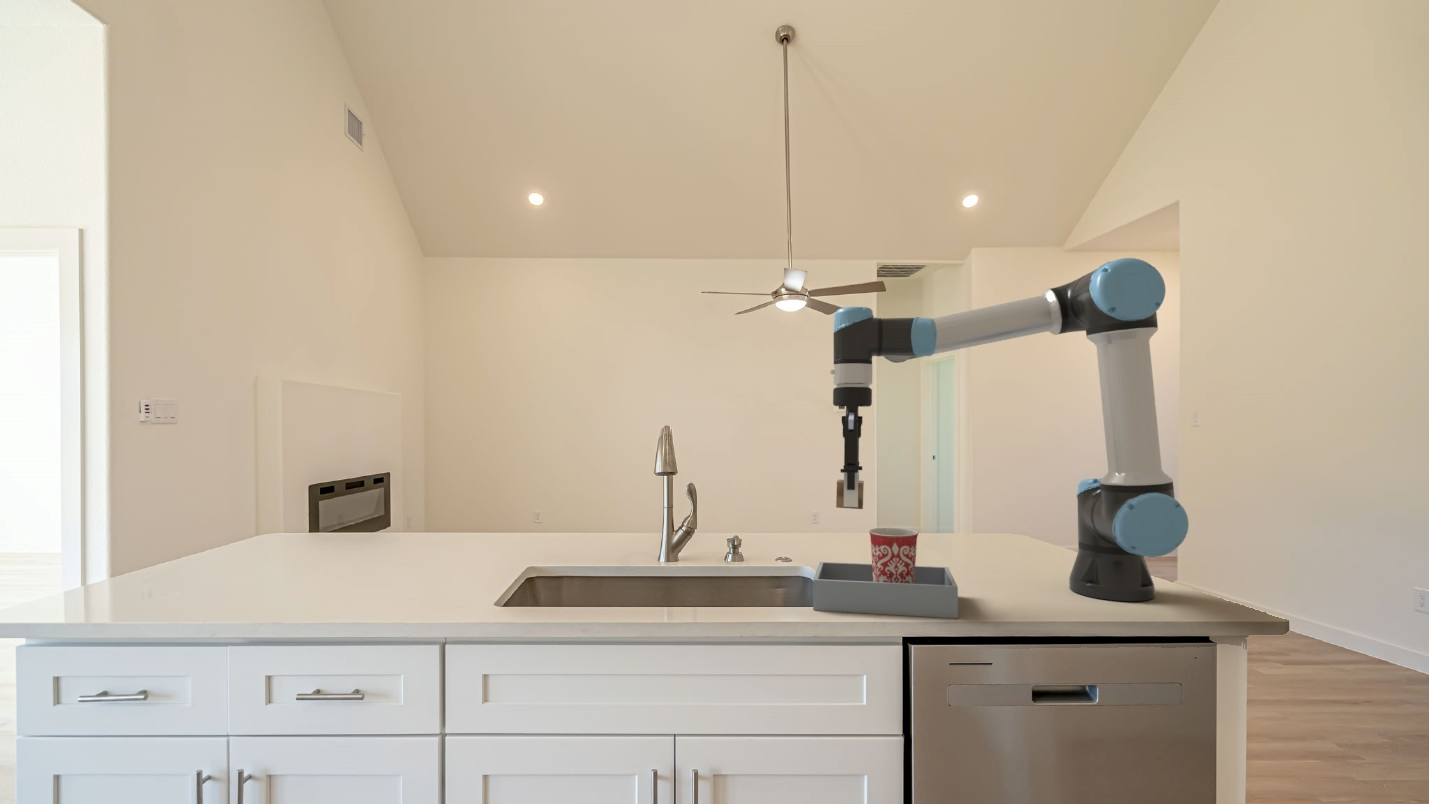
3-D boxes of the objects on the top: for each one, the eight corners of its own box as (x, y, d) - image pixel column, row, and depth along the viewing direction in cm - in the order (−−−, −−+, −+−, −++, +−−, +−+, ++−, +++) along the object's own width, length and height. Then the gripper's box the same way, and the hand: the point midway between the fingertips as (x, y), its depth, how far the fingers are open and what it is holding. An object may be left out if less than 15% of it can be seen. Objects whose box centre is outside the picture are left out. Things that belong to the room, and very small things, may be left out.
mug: (922, 609, 130) (922, 535, 130) (872, 608, 131) (871, 534, 131) (911, 592, 142) (911, 524, 143) (865, 591, 143) (865, 524, 144)
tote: (948, 595, 142) (948, 567, 142) (957, 618, 126) (957, 586, 126) (820, 588, 148) (819, 561, 148) (813, 610, 132) (813, 579, 132)
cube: (862, 505, 141) (863, 480, 141) (862, 509, 136) (863, 483, 136) (837, 504, 142) (838, 479, 142) (836, 507, 137) (836, 481, 137)
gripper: (835, 388, 149) (834, 498, 149) (830, 384, 132) (828, 510, 131) (872, 388, 148) (871, 500, 147) (871, 384, 130) (870, 511, 130)
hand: (851, 504), depth 139 cm, fingers closed on cube, 5 cm apart
